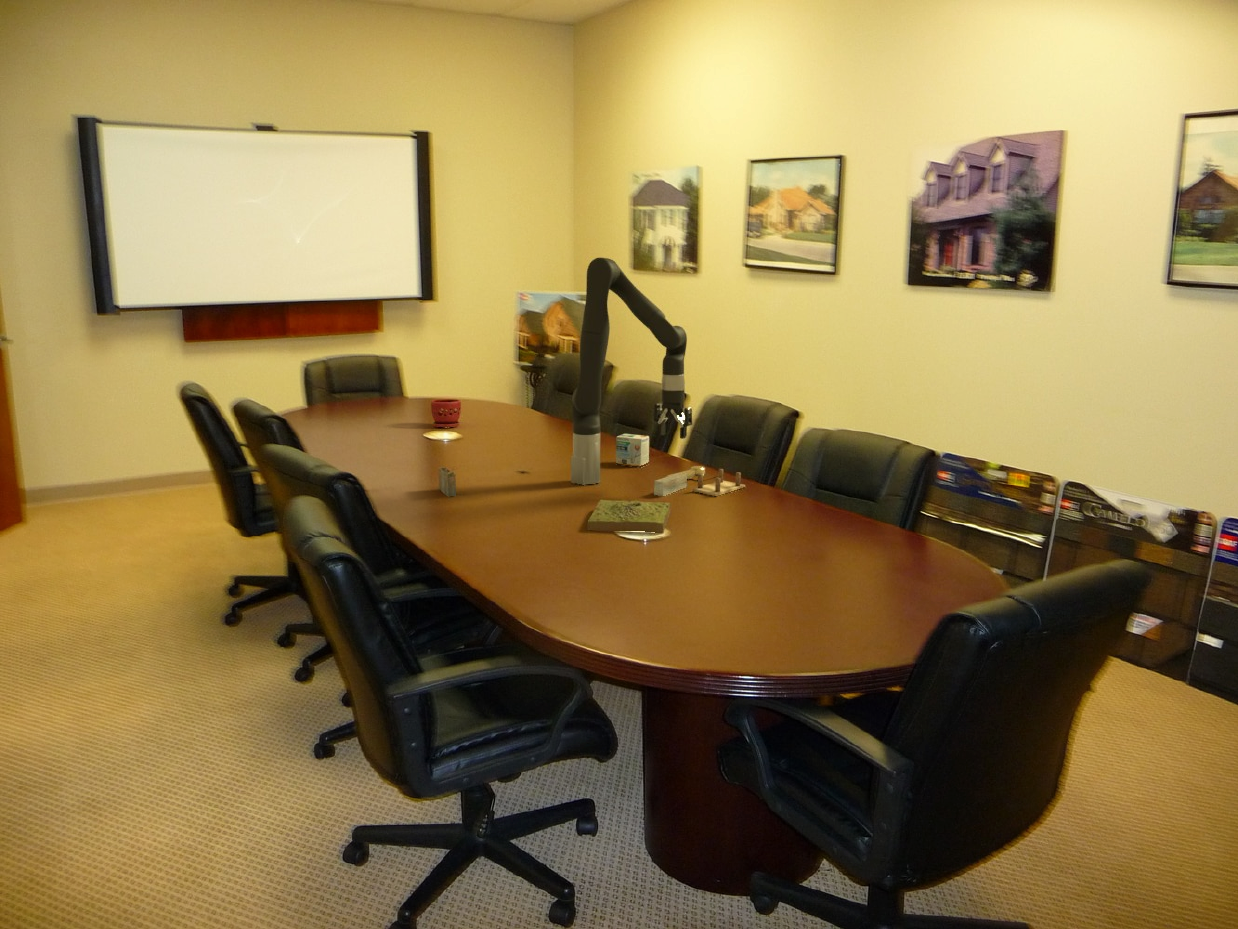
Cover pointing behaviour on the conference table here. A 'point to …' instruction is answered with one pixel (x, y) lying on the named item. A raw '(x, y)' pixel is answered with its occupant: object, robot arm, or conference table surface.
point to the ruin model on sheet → (447, 481)
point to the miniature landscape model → (629, 516)
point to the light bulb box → (632, 449)
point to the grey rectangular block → (670, 484)
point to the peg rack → (718, 485)
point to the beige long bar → (693, 471)
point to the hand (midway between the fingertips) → (672, 436)
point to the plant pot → (446, 412)
